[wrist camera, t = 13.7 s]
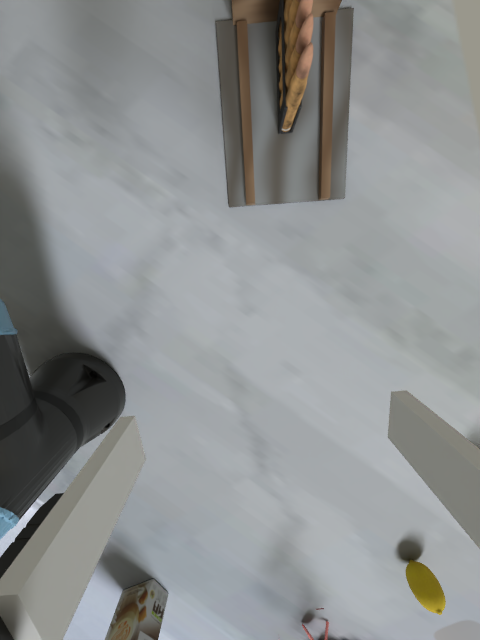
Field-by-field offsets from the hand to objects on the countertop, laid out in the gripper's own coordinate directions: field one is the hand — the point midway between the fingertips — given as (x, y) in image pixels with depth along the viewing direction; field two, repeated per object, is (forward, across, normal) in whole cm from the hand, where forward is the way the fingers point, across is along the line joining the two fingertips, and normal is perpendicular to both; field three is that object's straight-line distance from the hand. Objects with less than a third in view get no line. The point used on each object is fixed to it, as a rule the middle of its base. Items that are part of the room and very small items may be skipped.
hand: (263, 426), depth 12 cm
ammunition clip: (+26, +7, +29) cm, 39 cm away
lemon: (+26, +30, -59) cm, 71 cm away
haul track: (+26, +7, +27) cm, 38 cm away
